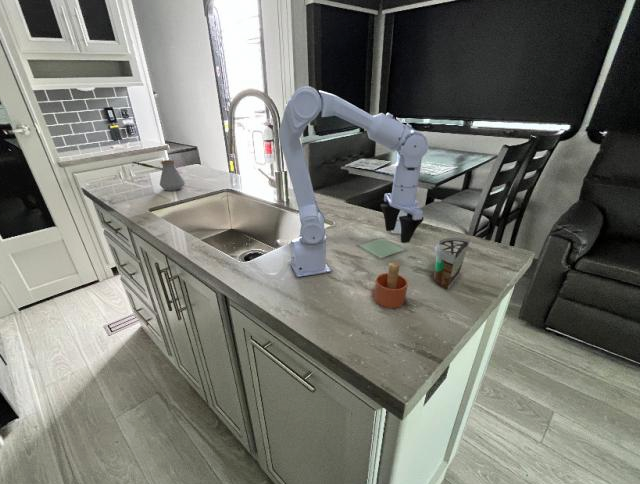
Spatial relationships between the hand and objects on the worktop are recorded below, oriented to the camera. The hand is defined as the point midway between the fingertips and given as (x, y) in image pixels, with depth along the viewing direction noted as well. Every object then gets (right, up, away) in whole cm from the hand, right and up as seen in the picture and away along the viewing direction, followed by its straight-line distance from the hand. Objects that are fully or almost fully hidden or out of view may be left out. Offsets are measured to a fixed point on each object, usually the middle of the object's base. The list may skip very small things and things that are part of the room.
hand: (397, 235), depth 84 cm
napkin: (0, -2, +16) cm, 16 cm away
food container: (+12, -11, +1) cm, 16 cm away
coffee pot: (-92, +28, +69) cm, 118 cm away
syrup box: (+8, +4, +27) cm, 28 cm away
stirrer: (-4, -15, -8) cm, 18 cm away
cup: (-4, -16, -7) cm, 18 cm away
